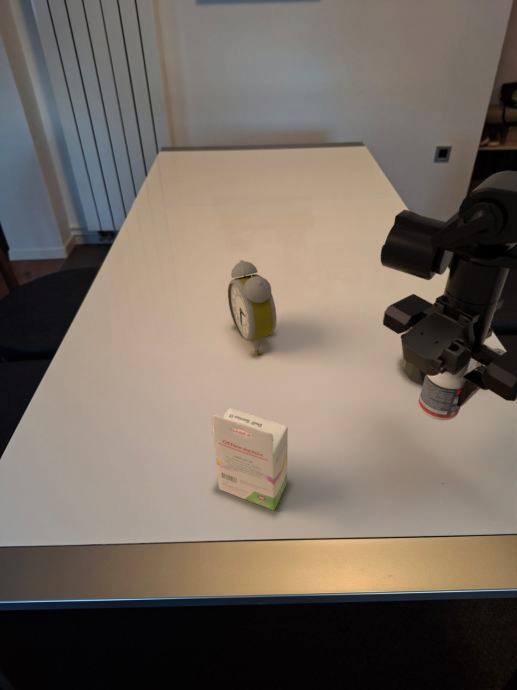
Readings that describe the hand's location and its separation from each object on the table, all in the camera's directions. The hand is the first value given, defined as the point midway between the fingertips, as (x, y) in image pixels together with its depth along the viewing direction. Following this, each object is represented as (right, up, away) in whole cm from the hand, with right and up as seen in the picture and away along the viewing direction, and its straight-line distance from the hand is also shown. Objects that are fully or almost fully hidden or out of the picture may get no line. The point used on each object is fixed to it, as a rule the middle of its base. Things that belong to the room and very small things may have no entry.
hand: (442, 393), depth 65 cm
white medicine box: (-25, -14, +4) cm, 28 cm away
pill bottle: (0, -2, +2) cm, 3 cm away
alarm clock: (-24, +7, +31) cm, 40 cm away
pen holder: (+6, +2, +23) cm, 24 cm away
